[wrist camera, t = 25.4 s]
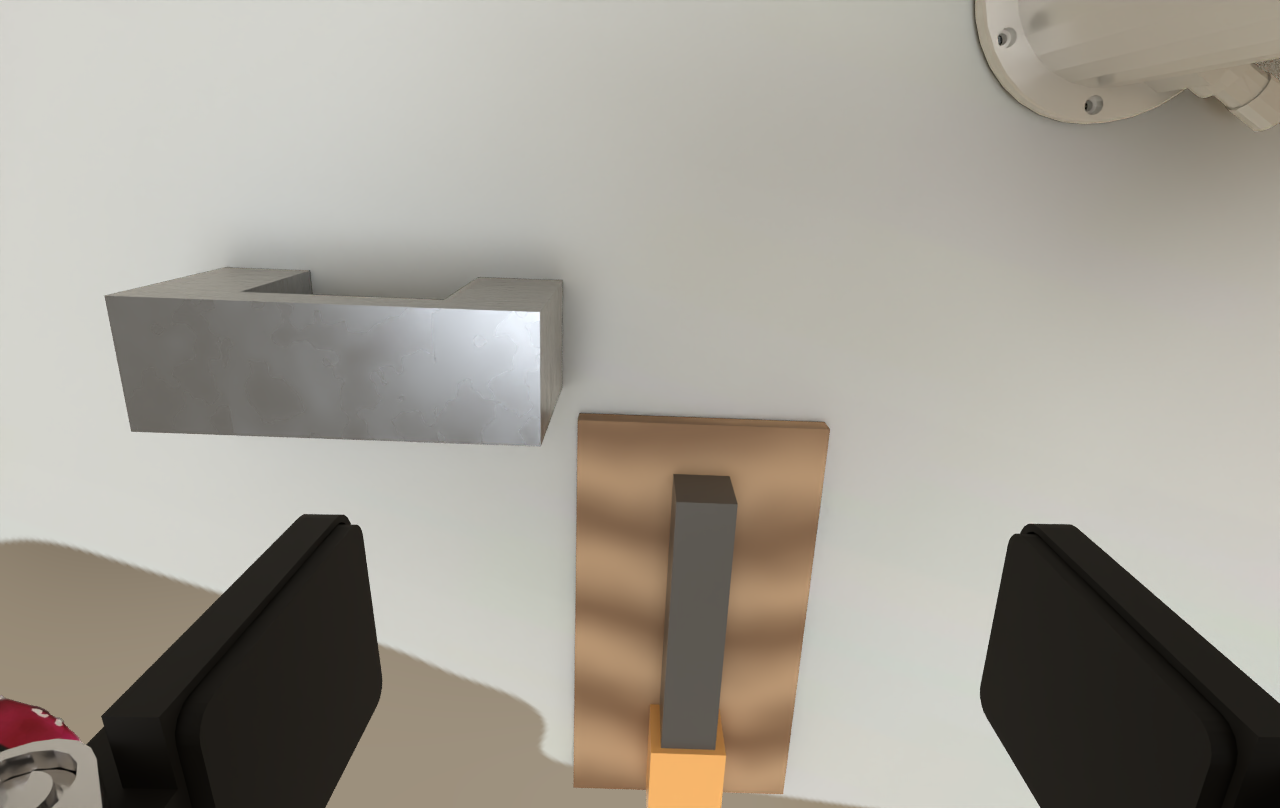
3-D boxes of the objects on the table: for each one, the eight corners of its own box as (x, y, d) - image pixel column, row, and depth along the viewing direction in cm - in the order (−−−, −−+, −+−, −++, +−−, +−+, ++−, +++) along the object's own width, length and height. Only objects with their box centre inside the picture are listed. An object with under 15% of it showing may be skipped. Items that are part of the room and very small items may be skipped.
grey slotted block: (225, 267, 38) (104, 295, 29) (562, 280, 38) (539, 312, 30) (240, 375, 40) (131, 431, 31) (562, 387, 40) (540, 446, 32)
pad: (579, 413, 41) (577, 420, 39) (824, 422, 41) (830, 429, 40) (575, 773, 49) (573, 787, 48) (779, 779, 49) (782, 794, 48)
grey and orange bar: (662, 473, 40) (664, 505, 37) (740, 476, 40) (750, 508, 37) (645, 792, 48) (645, 846, 44) (711, 794, 48) (716, 848, 44)
